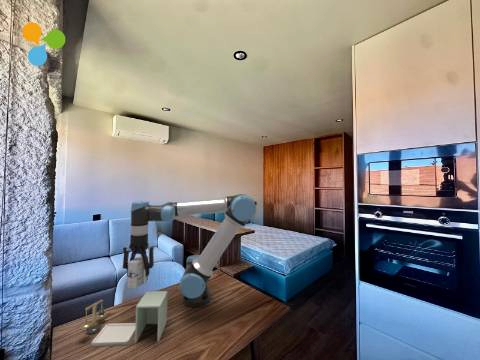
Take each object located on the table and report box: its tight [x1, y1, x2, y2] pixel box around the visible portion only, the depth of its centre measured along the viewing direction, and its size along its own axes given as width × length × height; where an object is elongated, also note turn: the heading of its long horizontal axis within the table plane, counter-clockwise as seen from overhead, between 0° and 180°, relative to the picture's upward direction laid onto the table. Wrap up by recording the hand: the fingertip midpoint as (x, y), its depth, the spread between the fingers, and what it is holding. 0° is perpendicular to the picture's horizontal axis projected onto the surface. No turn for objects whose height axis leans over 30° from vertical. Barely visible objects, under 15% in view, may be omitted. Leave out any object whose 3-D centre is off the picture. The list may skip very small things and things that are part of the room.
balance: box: [79, 299, 108, 336], centre depth 86 cm, size 14×5×12 cm, turn 5°
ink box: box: [126, 255, 149, 289], centre depth 96 cm, size 9×5×12 cm, turn 169°
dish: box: [90, 322, 135, 348], centre depth 83 cm, size 14×10×1 cm
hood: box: [134, 290, 169, 344], centre depth 86 cm, size 9×11×14 cm
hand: (138, 282), depth 96 cm, fingers closed on ink box, 6 cm apart
